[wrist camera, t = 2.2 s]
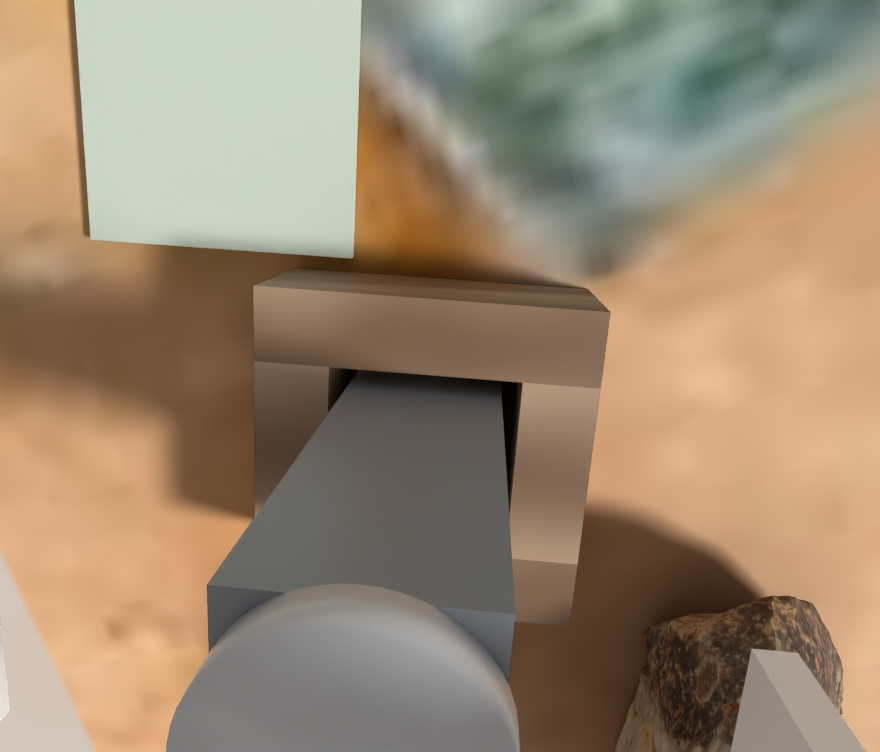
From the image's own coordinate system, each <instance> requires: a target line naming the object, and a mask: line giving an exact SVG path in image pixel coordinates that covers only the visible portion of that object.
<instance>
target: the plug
mask: <svg viewBox="0 0 880 752" xmlns="http://www.w3.org/2000/svg"><path fill="white" fill-rule="evenodd" d="M207 604H208V640H209V654H208V656H207V657H206V659H205V661H204V662H203V664H202V666H201V667H200V669H199V671H198V672H197V674H196V676H195V677H194V679H193V681H192V682H191V684H190V686H189V687H188V689H187V691H186V692H185V694H184V696H183V698H182V699H181V701H180V703H179V705H178V706H177V708H176V711H175V714H174V717H173V719H172V722H171V725H170V729H169V734H168V739H167V745H166V752H520V738H519V724H518V716H517V709H516V705H515V702H514V698H513V695H512V691H511V689H510V687H509V684H508V681H509V671H510V662H511V652H512V643H513V634H514V624H515V615H516V614H515V598H514V582H513V567H512V551H511V535H510V520H509V504H508V488H507V473H506V457H505V441H504V425H503V410H502V394H501V381H496V380H484V379H471V378H459V377H446V376H433V375H421V374H408V373H396V372H383V371H371V370H359V371H358V372H357V373H356V375H355V376H354V378H353V379H352V380H351V382H350V383H349V385H348V386H347V388H346V389H345V390H344V392H343V393H342V395H341V396H340V397H339V399H338V400H337V402H336V403H335V405H334V406H333V407H332V409H331V410H330V412H329V413H328V414H327V416H326V417H325V419H324V420H323V421H322V423H321V424H320V426H319V427H318V429H317V430H316V431H315V433H314V434H313V436H312V437H311V438H310V440H309V441H308V443H307V444H306V446H305V447H304V448H303V450H302V451H301V453H300V454H299V455H298V457H297V458H296V460H295V461H294V463H293V464H292V465H291V467H290V468H289V470H288V471H287V472H286V474H285V475H284V477H283V478H282V480H281V481H280V482H279V484H278V485H277V487H276V488H275V489H274V491H273V492H272V494H271V495H270V496H269V498H268V499H267V501H266V502H265V504H264V505H263V506H262V508H261V509H260V511H259V512H258V513H257V515H256V516H255V518H254V519H253V521H252V522H251V523H250V525H249V526H248V528H247V529H246V530H245V532H244V533H243V535H242V536H241V538H240V539H239V540H238V542H237V543H236V545H235V546H234V547H233V549H232V550H231V552H230V553H229V554H228V556H227V557H226V559H225V560H224V562H223V563H222V564H221V566H220V567H219V569H218V570H217V571H216V573H215V574H214V576H213V577H212V579H211V580H210V581H209V583H208V584H207Z"/></svg>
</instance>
